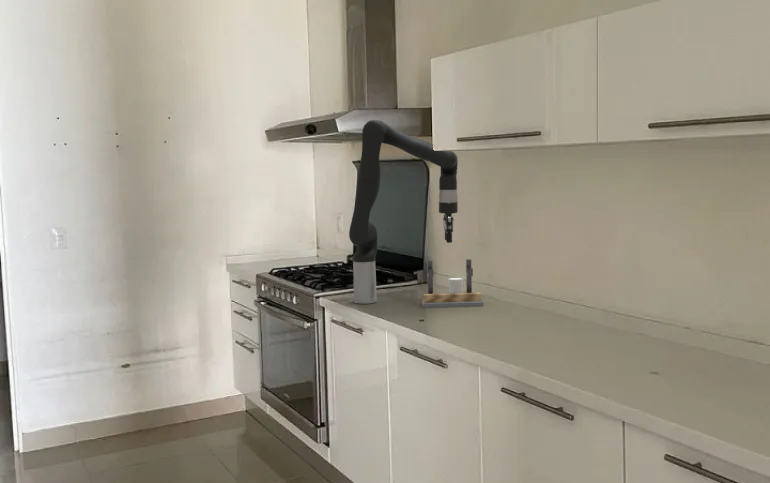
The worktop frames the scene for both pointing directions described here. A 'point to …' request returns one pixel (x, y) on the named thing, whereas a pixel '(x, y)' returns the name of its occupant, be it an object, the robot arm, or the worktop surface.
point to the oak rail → (451, 297)
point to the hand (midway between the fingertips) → (448, 241)
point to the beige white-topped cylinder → (455, 285)
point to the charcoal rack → (468, 276)
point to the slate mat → (452, 304)
